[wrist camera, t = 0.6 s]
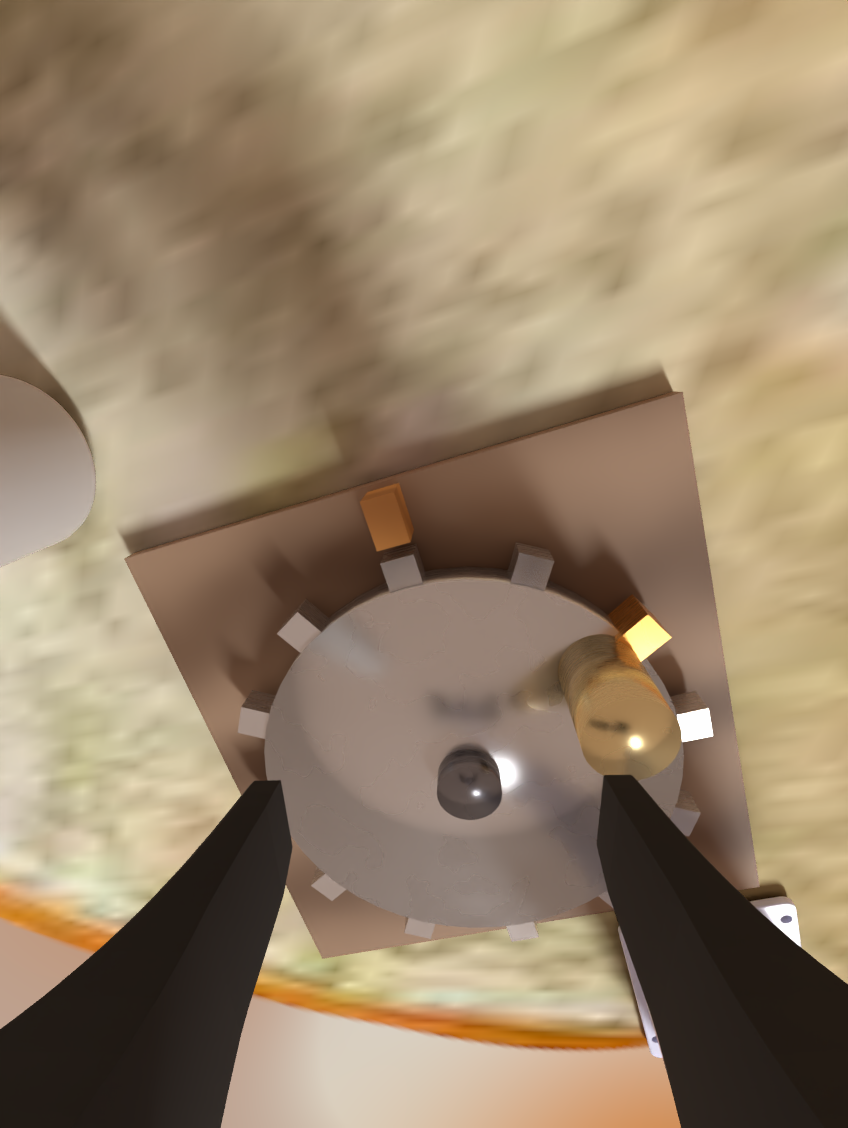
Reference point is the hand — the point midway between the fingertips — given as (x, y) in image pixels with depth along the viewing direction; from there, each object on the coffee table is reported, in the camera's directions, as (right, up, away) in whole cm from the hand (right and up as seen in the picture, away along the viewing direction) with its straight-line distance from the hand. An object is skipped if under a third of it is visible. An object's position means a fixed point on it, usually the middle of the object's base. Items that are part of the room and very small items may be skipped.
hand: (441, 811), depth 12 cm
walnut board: (+1, -2, +12) cm, 12 cm away
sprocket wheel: (+1, -2, +10) cm, 11 cm away
